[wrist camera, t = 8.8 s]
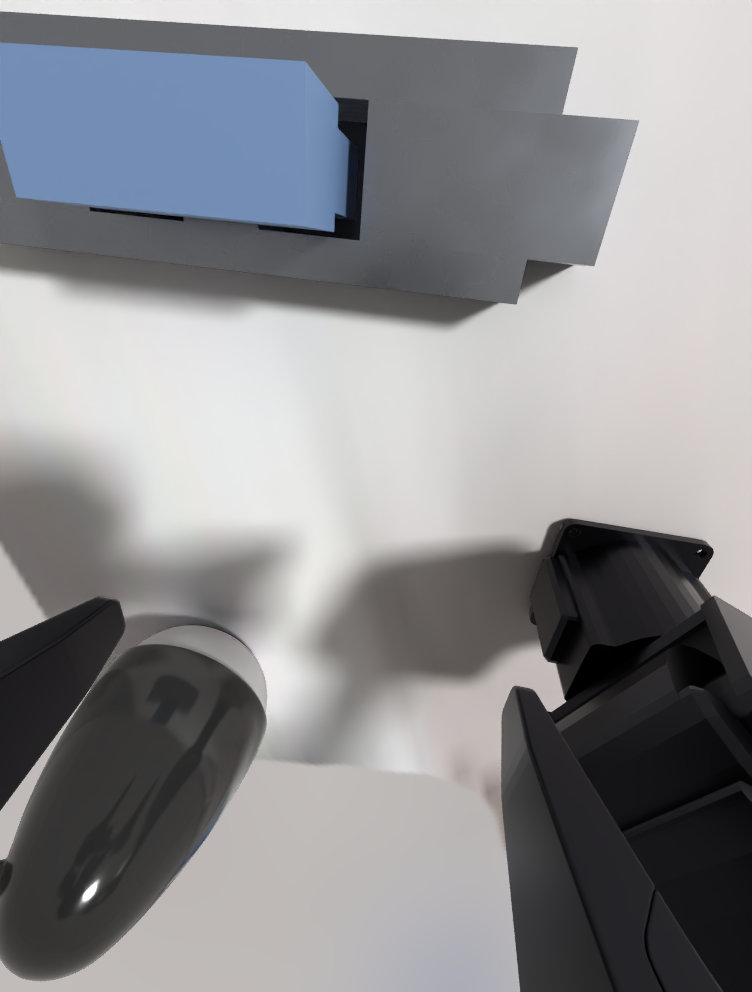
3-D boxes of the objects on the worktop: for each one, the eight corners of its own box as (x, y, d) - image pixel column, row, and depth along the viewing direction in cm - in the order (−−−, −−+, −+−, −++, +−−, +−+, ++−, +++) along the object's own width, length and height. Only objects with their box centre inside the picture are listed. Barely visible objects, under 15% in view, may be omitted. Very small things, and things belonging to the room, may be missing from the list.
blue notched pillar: (359, 131, 14) (305, 61, 9) (354, 235, 16) (304, 226, 11) (138, 114, 15) (-28, 40, 10) (153, 215, 17) (16, 197, 11)
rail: (625, 87, 13) (660, 52, 11) (563, 304, 16) (579, 312, 14) (-80, 37, 15) (-170, 0, 13) (-18, 236, 18) (-82, 233, 16)
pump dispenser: (148, 575, 26) (-153, 885, 13) (304, 636, 27) (159, 996, 14) (139, 671, 32) (-86, 962, 19) (269, 721, 32) (139, 1041, 19)
